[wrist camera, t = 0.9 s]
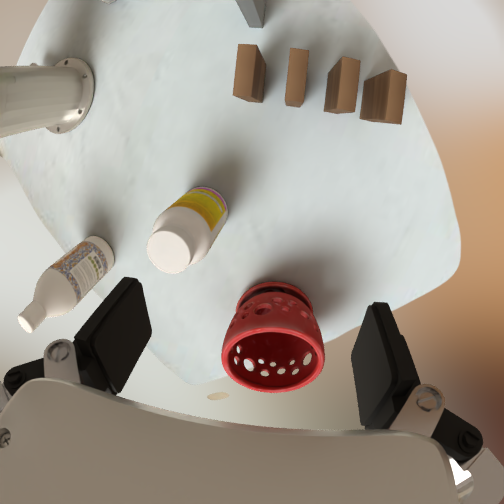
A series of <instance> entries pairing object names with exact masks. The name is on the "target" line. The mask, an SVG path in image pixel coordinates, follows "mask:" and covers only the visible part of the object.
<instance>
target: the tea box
mask: <svg viewBox="0 0 504 504" xmlns="http://www.w3.org/2000/svg"><path fill="white" fill-rule="evenodd" d="M100 1H103V2H105V3H107V4H110V3H112V2H114V1H115V0H100Z"/></svg>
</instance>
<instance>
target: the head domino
mask: <svg viewBox="0 0 504 504" xmlns="http://www.w3.org/2000/svg"><path fill="white" fill-rule="evenodd" d="M236 2H237V4H238V6H239V8H240V10H241V12H242V13H243V15H244V17H245V19H246V21H247V23H248V25H249V27H252V28H263V21H264V12H265V4H266V0H236Z"/></svg>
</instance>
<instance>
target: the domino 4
mask: <svg viewBox="0 0 504 504" xmlns="http://www.w3.org/2000/svg"><path fill="white" fill-rule="evenodd" d="M406 80H407V75H406V74H404V73H401V72H398V71H395V70H392V69H391V70H388V71H386V72H384V73H381V74H379V75H377V76H375V77H372V78H370V79H368V80H366V81H364V87H363V96H362V104H361V112H360V119H363V120H367V121H371V122H381V123H392V124H401V123H402V115H403V108H404V100H405V91H406Z"/></svg>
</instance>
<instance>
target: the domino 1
mask: <svg viewBox="0 0 504 504" xmlns="http://www.w3.org/2000/svg"><path fill="white" fill-rule="evenodd" d="M265 72H266V63H265V61H264V59H263V57H262V55H261V53H260V51H259V49H258V46H257V45H250V44H238V51H237V60H236V69H235V79H234V88H233V96H236V97H238V98H241V99H243V100H246V101H248V102H258V103H262V99H263V90H264V81H265Z"/></svg>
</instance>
